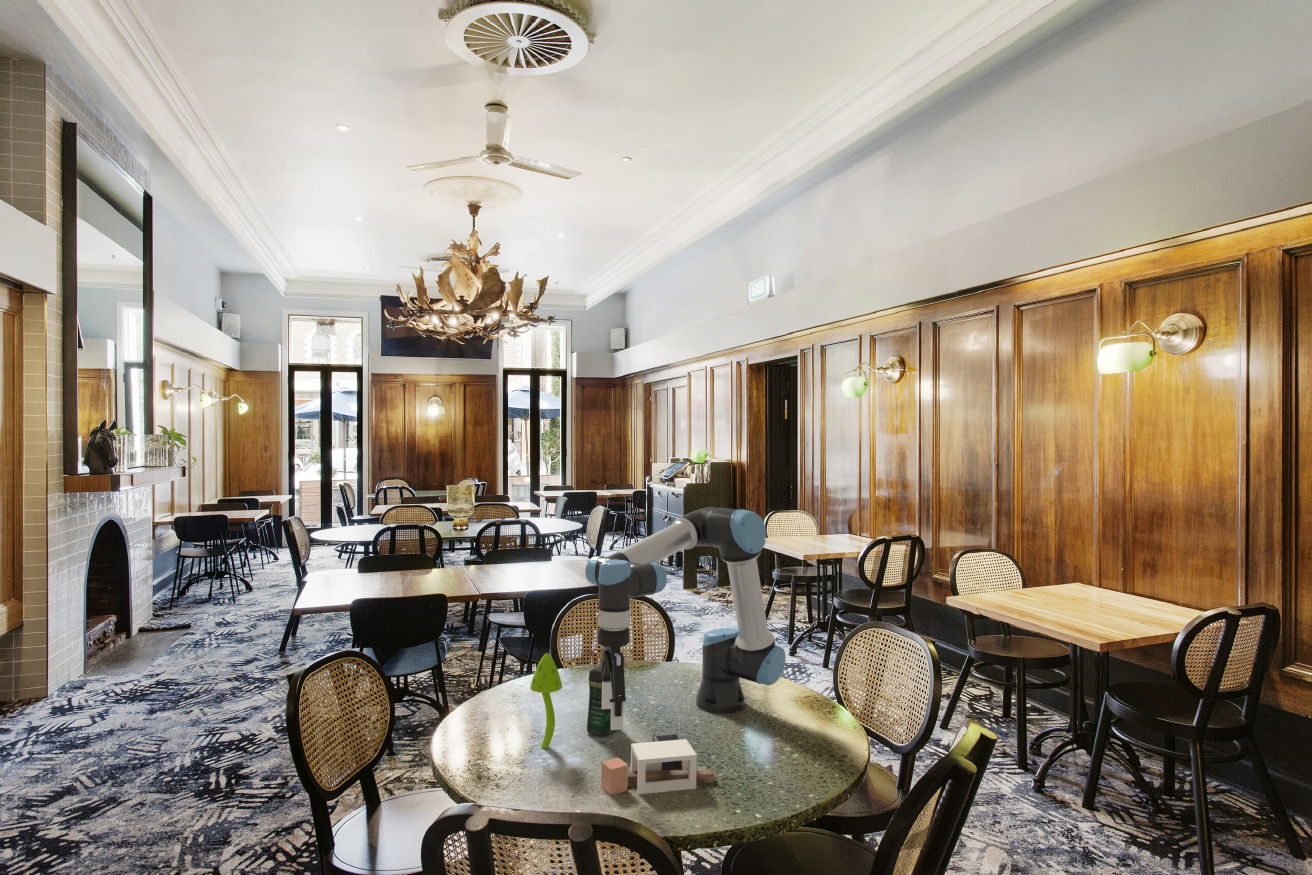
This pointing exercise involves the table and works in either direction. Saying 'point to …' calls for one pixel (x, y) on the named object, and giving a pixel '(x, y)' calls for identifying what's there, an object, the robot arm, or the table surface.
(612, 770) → the block
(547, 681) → the mushroom
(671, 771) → the rod
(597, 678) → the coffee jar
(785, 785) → the table surface
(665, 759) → the tunnel
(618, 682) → the robot arm
